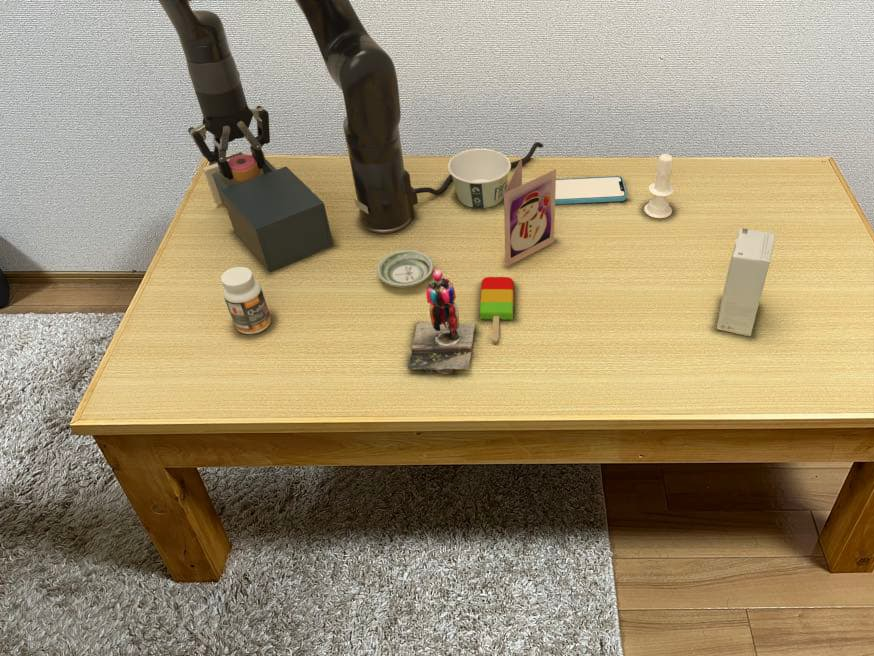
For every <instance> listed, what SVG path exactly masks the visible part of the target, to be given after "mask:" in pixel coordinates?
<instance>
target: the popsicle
mask: <svg viewBox="0 0 874 656" xmlns="http://www.w3.org/2000/svg"><path fill="white" fill-rule="evenodd" d="M480 285H481V286H480V299H479V301H480V302H479V319H480V320H492V332H491V333H492V334H491V335H492V336H491V337H492V338H491V340H492V342H499V335H500V334H499V333H500V320H514V298H515V297H514V295H515V294H514V292H515V291H514V290H515V283H514V280H513V278H512V277H509V276H487V277H486V276H485V277H483V278H482V280H481V283H480Z"/></svg>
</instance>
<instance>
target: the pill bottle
mask: <svg viewBox="0 0 874 656" xmlns="http://www.w3.org/2000/svg"><path fill="white" fill-rule="evenodd" d="M220 281H221V284H222V287H223V290H222V295H223V296H222V297H223V299H224V302H225V304H226V306H227V310H228V312H229V314H230V317H231V319H232V322H233V325H234V327H235V329H236V330H237V331H238V332H240V333H241V334H244V335H255V334H258V333H261V332H263V331H265V330H266V329H267V328H268V327H269V326H270V324H271V322H272V317H271V314H270V313H271V312H270V310H269V308H268V304H267V301H266V298H265V295H264V292H263V289H262V286H261V284H260V283H259V282H258V281H257V280H255V276H254V274H253V271H252V270H251V269H250V268H248V267H246V266H235V267H230V268H228V269H227V270H225V271H224V272H223V273H222V275H221V276H220Z"/></svg>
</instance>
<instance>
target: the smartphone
mask: <svg viewBox="0 0 874 656" xmlns="http://www.w3.org/2000/svg"><path fill="white" fill-rule="evenodd" d="M626 199H627V191H626V187H625V182H624V178H623V177H622V176H620V175H608V176H586V177H568V178H567V177H566V178H565V177H563V178H556V191H555V205H566V204H567V205H568V204H588V203H590V204H591V203H608V202H624V201H625V200H626Z"/></svg>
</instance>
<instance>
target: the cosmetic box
mask: <svg viewBox="0 0 874 656" xmlns="http://www.w3.org/2000/svg"><path fill="white" fill-rule="evenodd" d="M775 238H776V234H775V233H773V232H768V231H762V230H756V229H755V230H754V229H748V228H741V227H739V228H738V231H737V235H736V239H735V243H734V247H733V250H732V253H731V257H730V261H729V265H728V269H727V274H726V279H725V283H724V287H723V292H722V295H721V301H720V306H719V313H718V318H717V324H716V329H717V330H719V331H722V332H723V331H724V332H729V333H733V334H736V335H741V336H744V337H745V336H746V337H751V336H752V333H753V329H754V326H755V321H756V317H757V313H758V309H759V305H760V301H761V299H762V294H763V290H764V287H765V283H766V279H767V275H768V271H769V268H770V264H771V260H772V256H773V251H774V245H775Z"/></svg>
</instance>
